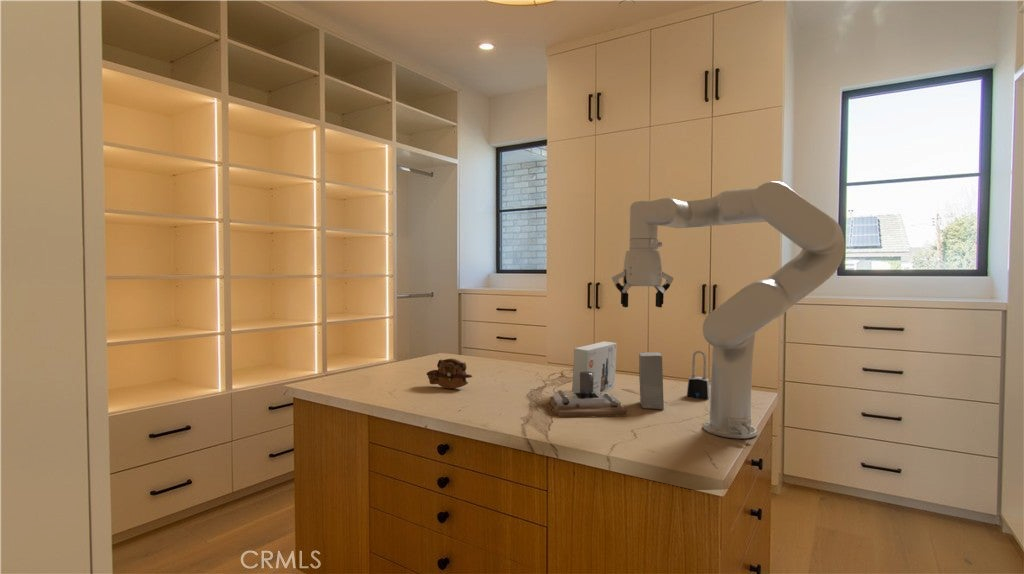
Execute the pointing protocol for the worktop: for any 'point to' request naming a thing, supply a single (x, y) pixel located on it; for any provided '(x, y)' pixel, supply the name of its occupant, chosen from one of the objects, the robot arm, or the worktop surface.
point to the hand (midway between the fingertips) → (641, 307)
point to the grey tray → (584, 400)
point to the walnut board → (588, 411)
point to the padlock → (698, 382)
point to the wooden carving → (449, 374)
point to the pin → (586, 384)
